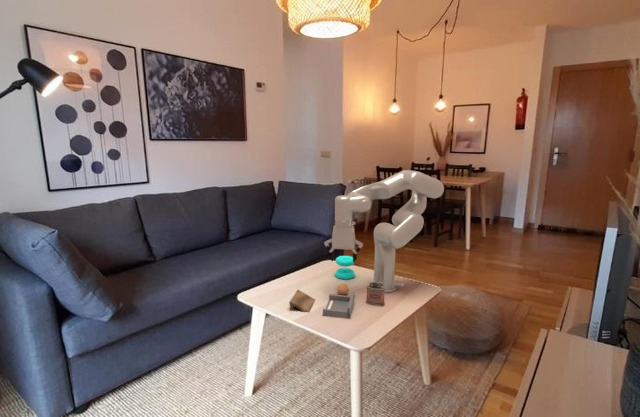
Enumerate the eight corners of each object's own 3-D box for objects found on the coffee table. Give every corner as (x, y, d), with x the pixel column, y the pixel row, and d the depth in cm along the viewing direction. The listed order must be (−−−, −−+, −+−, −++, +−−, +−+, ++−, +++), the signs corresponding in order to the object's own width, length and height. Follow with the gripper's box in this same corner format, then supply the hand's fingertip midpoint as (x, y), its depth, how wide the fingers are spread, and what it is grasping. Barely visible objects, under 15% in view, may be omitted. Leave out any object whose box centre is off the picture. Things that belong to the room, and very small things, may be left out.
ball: (348, 292, 163) (349, 282, 162) (347, 297, 158) (347, 286, 157) (338, 291, 164) (338, 281, 163) (336, 296, 159) (336, 285, 158)
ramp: (315, 301, 156) (315, 291, 155) (309, 314, 144) (309, 303, 143) (296, 299, 157) (296, 289, 157) (289, 312, 146) (289, 301, 145)
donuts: (337, 254, 187) (356, 255, 184) (337, 272, 189) (355, 273, 186) (333, 260, 177) (353, 262, 175) (333, 279, 179) (353, 281, 177)
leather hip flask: (365, 303, 152) (365, 281, 150) (366, 300, 155) (367, 279, 153) (383, 306, 149) (384, 284, 148) (385, 303, 153) (386, 281, 151)
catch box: (354, 301, 154) (354, 292, 153) (350, 318, 139) (350, 308, 138) (329, 299, 156) (329, 290, 155) (322, 315, 141) (322, 305, 141)
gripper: (364, 222, 156) (363, 259, 160) (325, 221, 160) (326, 256, 163) (362, 226, 149) (361, 264, 153) (322, 225, 153) (322, 262, 156)
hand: (343, 260), depth 158 cm, fingers open, 9 cm apart
